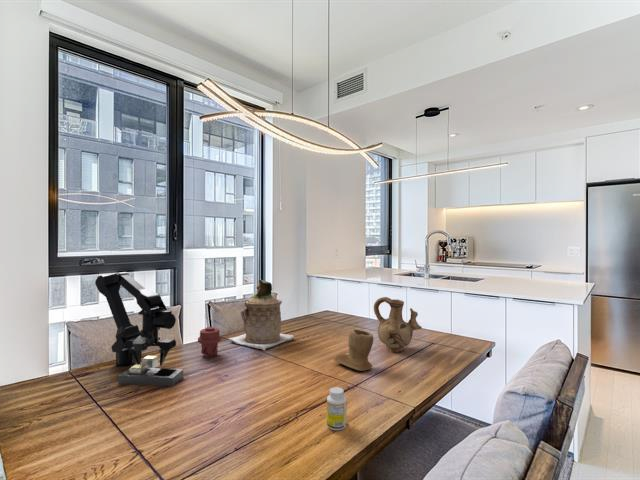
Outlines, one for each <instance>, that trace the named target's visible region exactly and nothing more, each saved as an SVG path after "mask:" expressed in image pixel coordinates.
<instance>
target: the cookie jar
mask: <svg viewBox="0 0 640 480" xmlns="http://www.w3.org/2000/svg"><path fill="white" fill-rule="evenodd" d="M256 289H257V292H256V293H254V294H253V295H252V296H251V297H250V298H246V299H245V301H244V306H245V308H243V310H241V311H240V316H241V319H242V320H243V326H242V329H243V332H244V334H240V335H239V336H234V337H230V338H228V340H230V341H231V342H233V343H234V344H236V345H241V346H244V347H245V346H246V347H250V348H255V349H259V350H262V351H266V349H269V348H272V347H275V346H277V345H280V344H282V343H286V342H289V341H293V338H294V337H295V336H294V335H292V334H286V333H281V331H282V317H281V314H282V313H281V304H282V302H283V301H282V299H278V298H276V297H274V296H272V292H273V285H272V283H271V282H269V281H267V280H264V279H263V280H262V279H259V280H258V283H257V284H256Z"/></svg>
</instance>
